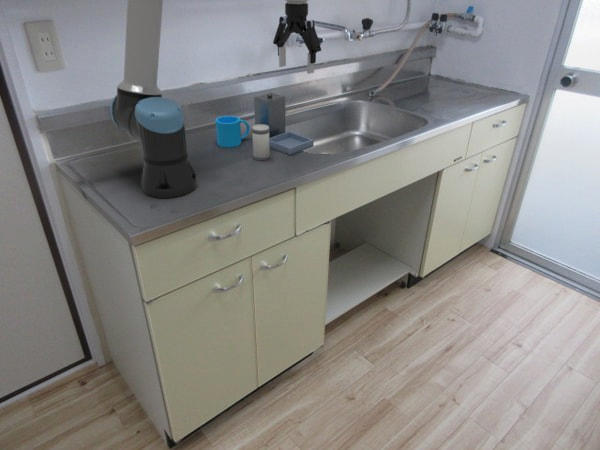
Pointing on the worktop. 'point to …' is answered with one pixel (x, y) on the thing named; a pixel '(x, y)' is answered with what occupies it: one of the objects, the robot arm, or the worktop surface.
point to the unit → (270, 112)
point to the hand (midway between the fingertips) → (296, 69)
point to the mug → (229, 131)
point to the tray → (290, 143)
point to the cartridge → (260, 142)
